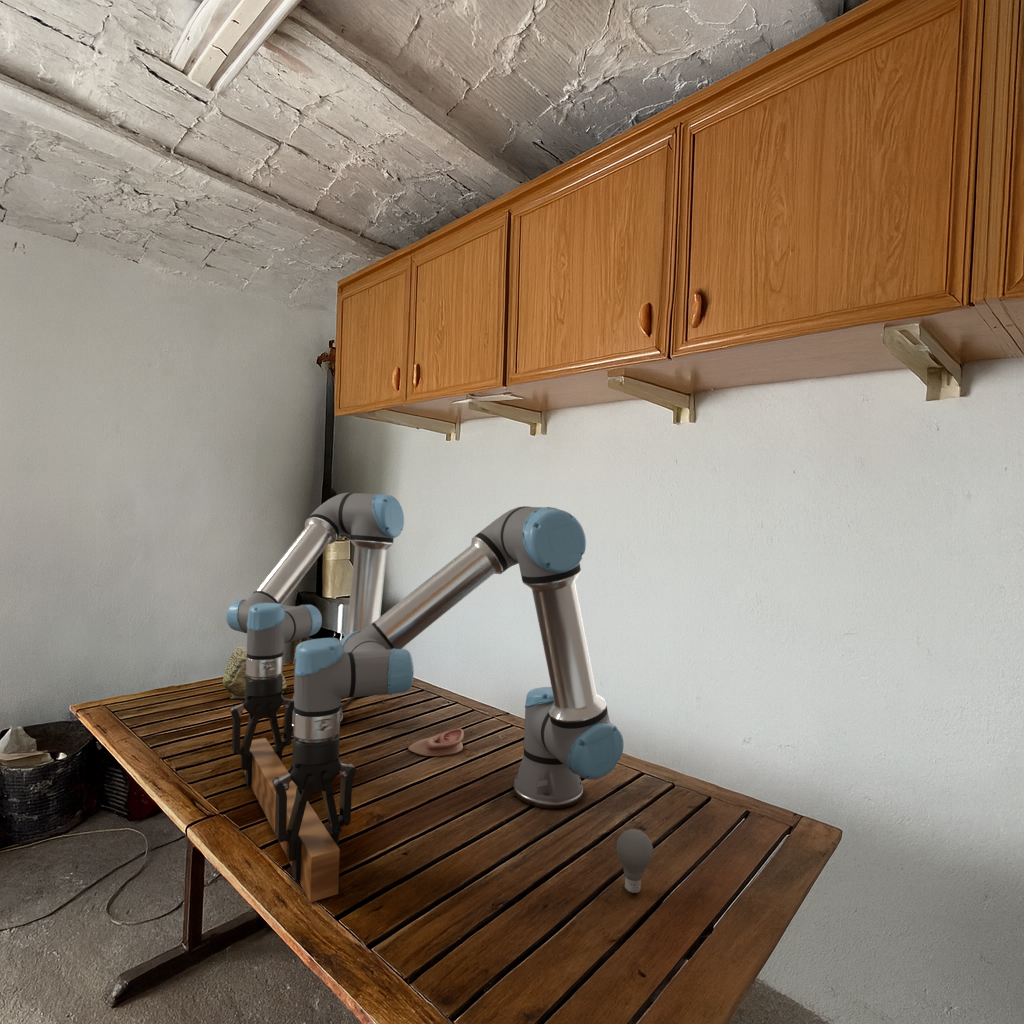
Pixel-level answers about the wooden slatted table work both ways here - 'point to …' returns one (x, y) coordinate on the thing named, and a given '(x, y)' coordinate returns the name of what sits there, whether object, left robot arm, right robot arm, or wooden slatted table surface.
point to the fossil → (239, 674)
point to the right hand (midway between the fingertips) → (311, 872)
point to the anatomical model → (439, 744)
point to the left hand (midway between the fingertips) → (261, 780)
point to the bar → (316, 840)
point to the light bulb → (634, 857)
